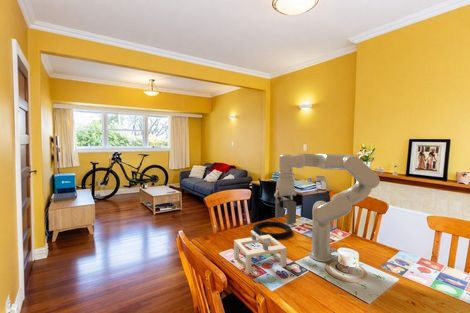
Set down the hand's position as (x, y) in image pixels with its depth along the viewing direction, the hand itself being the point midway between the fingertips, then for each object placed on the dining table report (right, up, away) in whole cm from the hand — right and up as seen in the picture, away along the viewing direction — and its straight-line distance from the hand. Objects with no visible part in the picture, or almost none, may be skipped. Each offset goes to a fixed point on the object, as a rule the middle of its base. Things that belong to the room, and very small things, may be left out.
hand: (285, 206), depth 143 cm
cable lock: (-3, -25, +33) cm, 42 cm away
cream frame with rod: (-16, -28, -9) cm, 34 cm away
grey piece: (0, -8, +1) cm, 8 cm away
